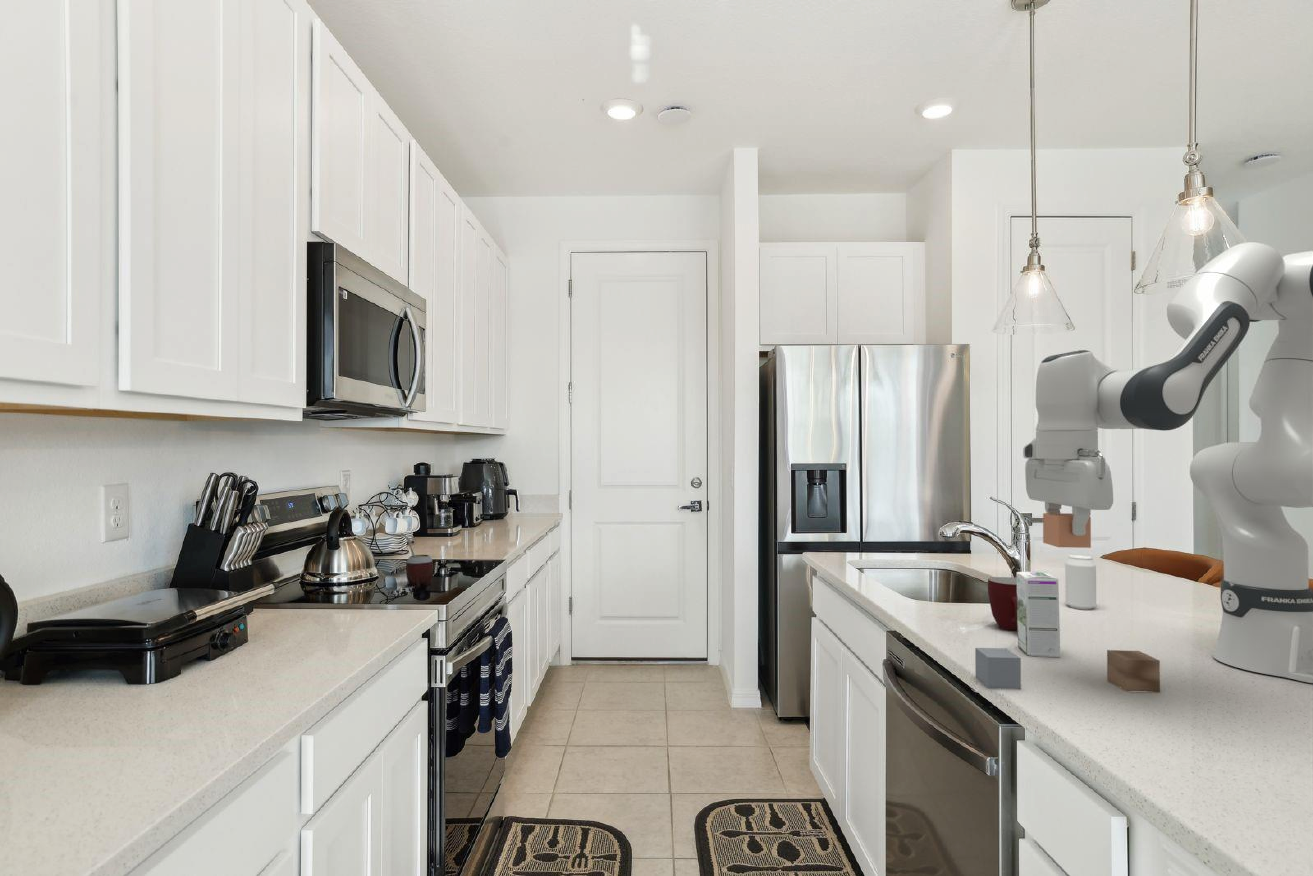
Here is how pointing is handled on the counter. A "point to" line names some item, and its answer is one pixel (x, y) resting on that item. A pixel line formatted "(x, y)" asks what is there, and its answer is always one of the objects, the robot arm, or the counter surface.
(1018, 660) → the slate block
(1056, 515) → the terracotta block
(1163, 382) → the robot arm
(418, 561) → the mate gourd
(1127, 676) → the walnut block
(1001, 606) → the mug
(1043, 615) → the syrup box
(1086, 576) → the white cylinder
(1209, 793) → the counter surface
